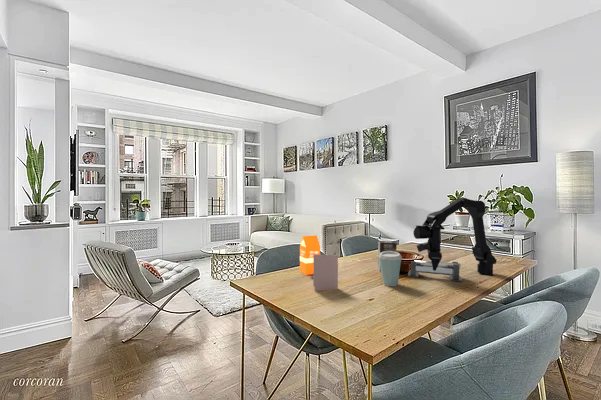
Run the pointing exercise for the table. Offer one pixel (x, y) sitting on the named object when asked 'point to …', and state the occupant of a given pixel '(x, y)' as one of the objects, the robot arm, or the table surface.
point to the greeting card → (325, 272)
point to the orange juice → (308, 253)
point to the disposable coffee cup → (390, 267)
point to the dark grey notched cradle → (453, 277)
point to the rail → (440, 265)
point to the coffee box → (385, 248)
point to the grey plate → (430, 270)
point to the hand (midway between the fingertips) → (434, 268)
